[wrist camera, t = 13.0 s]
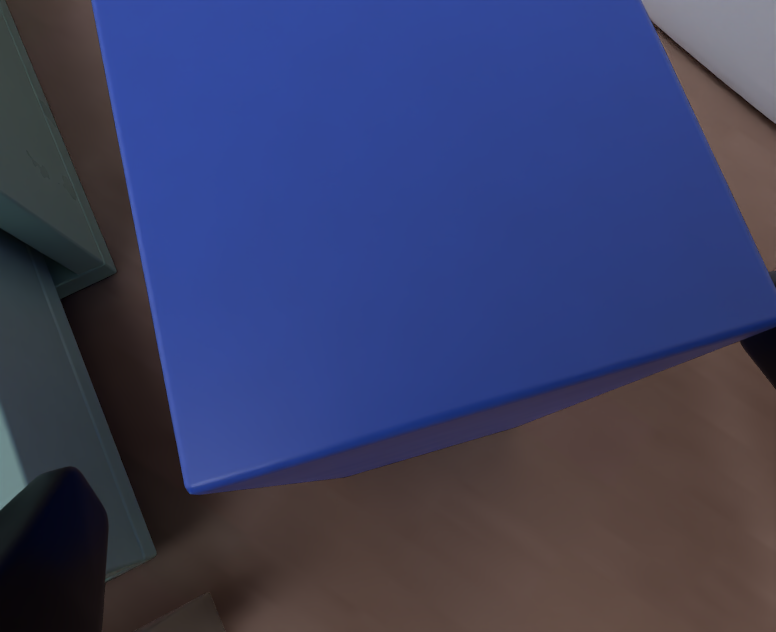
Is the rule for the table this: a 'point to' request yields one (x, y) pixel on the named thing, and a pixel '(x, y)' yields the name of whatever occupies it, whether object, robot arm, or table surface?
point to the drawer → (66, 421)
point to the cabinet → (42, 176)
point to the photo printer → (727, 42)
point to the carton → (412, 221)
